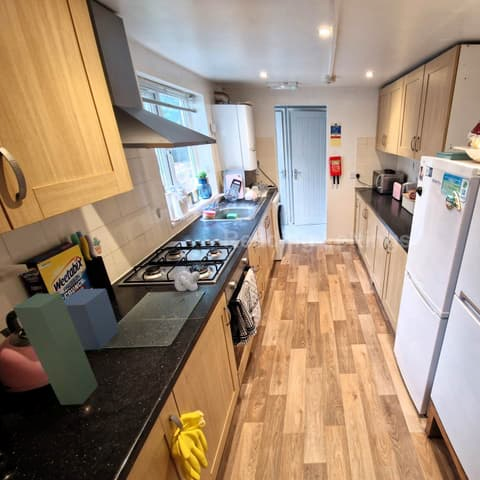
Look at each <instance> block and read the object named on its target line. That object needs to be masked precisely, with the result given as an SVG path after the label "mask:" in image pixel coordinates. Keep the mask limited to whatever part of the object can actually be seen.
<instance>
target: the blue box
mask: <svg viewBox="0 0 480 480" xmlns="http://www.w3.org/2000/svg"><path fill="white" fill-rule="evenodd" d="M63 300H64V303H65V305H66V307H67V310H68V312H69V315H70V317H71V320H72V322H73V325H74V327H75V330H76V332H77V335H78V337H79V340H80V342H81V345H82V347H83V349H84V351H94V350H95V351H96V350H98V351H100V350H102V349H104V347H105V346H107V344H108V343H109V342H110V341H111V340H112V339H114V337H115V336H116V335H117V334H118V333H119V331H120V328H119V324H118V322H117V318H116V315H115V313H114V309H113V306H112V303H111V300H110V298H109V294H108V290H107V289H106V288H80V289H78V290H77V291H75V292H74V293H72V294H71V295H69V296H68V297H66V298H65V299H63Z"/></svg>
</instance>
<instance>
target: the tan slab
mask: <svg viewBox="0 0 480 480" xmlns="http://www.w3.org/2000/svg"><path fill="white" fill-rule="evenodd" d="M27 272H29V269H28V267H27V264H25V263H24V264H22V263H21V264H4V265H2V266H0V283H6V282H8V281H10V280H13V279H14V278H17V277H19V276H21V275H23V274H25V273H27Z"/></svg>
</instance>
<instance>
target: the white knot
mask: <svg viewBox="0 0 480 480" xmlns="http://www.w3.org/2000/svg"><path fill="white" fill-rule="evenodd" d="M200 277H201V274H200V272H199V271H193V272H189V271H187V270H182V271H180V272H178V273H177V274H176V276H175V277H174V284H173V285H174V288H175V290H177V291H178V292H185V291H188V290H189V291H190V292H195V291H197V290H198V288H199V286H198V284H197V282H198V281H199V280H200Z"/></svg>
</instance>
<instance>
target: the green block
mask: <svg viewBox="0 0 480 480" xmlns="http://www.w3.org/2000/svg"><path fill="white" fill-rule="evenodd" d="M64 300H65V299H64V297H63V295H62V293H36V294H34V295H32V296H30V297H29V298H27V299H25V300H24V301H22V302H20V303H18V304H17V305H15V306H14V307H12V309H13V311H14V313H15V315H16V316H17V319H18V321H19V323H20V326H21V327H22V329H23V331H24V334H25V335H26V338H27V339H28V341H29V343H30V345H31V347H32V349H33V351H34V353H35V355H36V357H37V360H38V361H39V363H40V365H41V368H42V369H43V371H44V373H45V376H46V377H47V380H48V382H49V384H50V386H51V387H52V390H53V392H54V394H55V396H56V398H57V400H58V402H59V404H60V405H61V406H65V405H66V406H67V405H68V406H69V405H83V404H85V402H86V401H87V400H88V399H89V398H90V396H91V395H92V394H93V392H94V391H96V389H97V388H98V387H99V384H98V381H97V378H96V376H95V374H94V372H93V369H92V367H91V364H90V362H89V359H88V357H87V355H86V353H85V350H84V349H83V347H82V345H81V342H80V340H79V337H78V335H77V332H76V330H75V327H74V325H73V322H72V320H71V317H70V315H69V312H68V310H67V307H66V305H65V303H64Z"/></svg>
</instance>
